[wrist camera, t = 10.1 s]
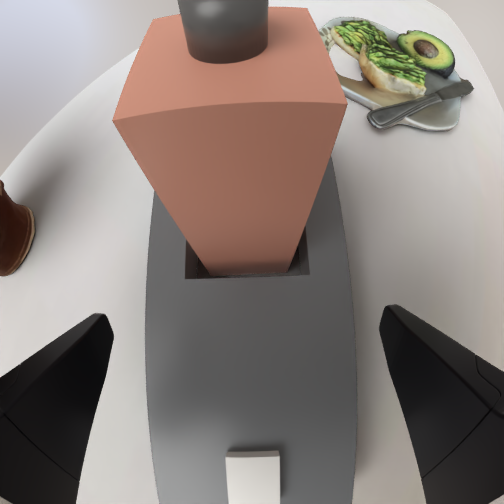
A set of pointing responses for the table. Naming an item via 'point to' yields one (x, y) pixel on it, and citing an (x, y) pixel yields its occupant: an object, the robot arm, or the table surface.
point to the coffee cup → (14, 233)
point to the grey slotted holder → (252, 371)
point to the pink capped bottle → (234, 127)
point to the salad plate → (399, 74)
